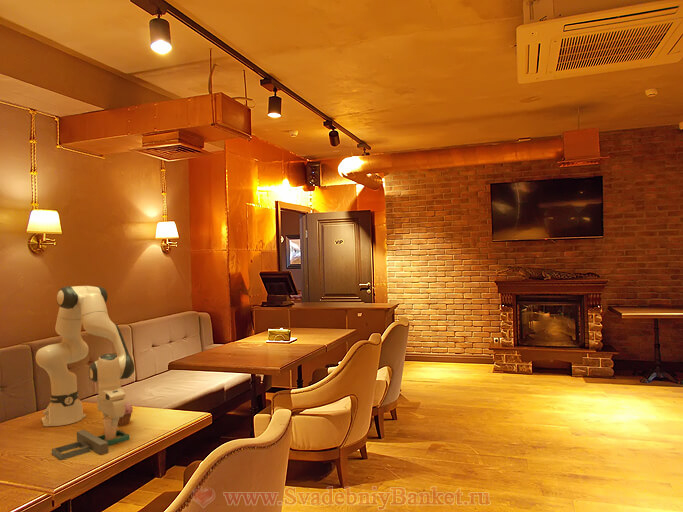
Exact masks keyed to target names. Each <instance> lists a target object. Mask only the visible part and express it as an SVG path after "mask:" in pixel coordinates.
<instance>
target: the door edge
mask: <svg viewBox="0 0 683 512" xmlns="http://www.w3.org/2000/svg"><path fill="white" fill-rule="evenodd" d="M97 436H98V435H97ZM97 436H96V435H94V434H93V433H91V432H90V431H87V430H85V429H80V430H78V431H76V442H78V441H82V442H84V443H85V444H87V445H89V446H90V451H91V450H92V451H93V452H95V453H97V454H99V456H102V455H105V454H108V453H109V446H108V442H106V441H105V440H102V439H100V438H98V437H97Z"/></svg>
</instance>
